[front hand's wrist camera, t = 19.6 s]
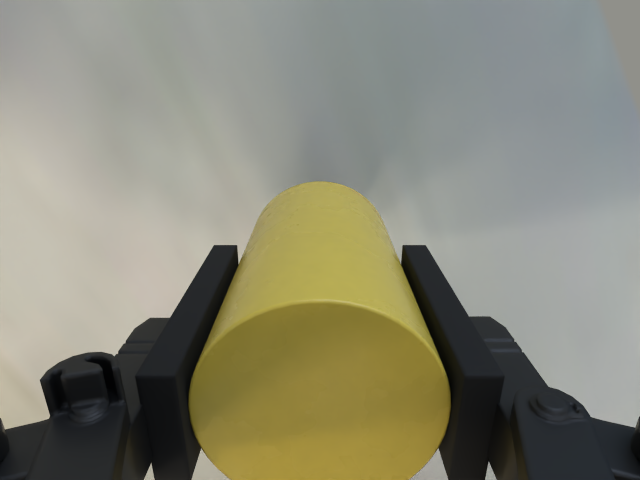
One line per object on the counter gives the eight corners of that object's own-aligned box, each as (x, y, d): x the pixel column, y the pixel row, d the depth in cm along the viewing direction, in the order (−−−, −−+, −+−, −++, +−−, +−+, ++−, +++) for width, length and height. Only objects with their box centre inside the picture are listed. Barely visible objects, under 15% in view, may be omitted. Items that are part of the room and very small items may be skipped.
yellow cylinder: (378, 309, 18) (429, 513, 10) (252, 301, 18) (192, 502, 10) (395, 185, 17) (476, 308, 8) (253, 176, 16) (180, 291, 8)
